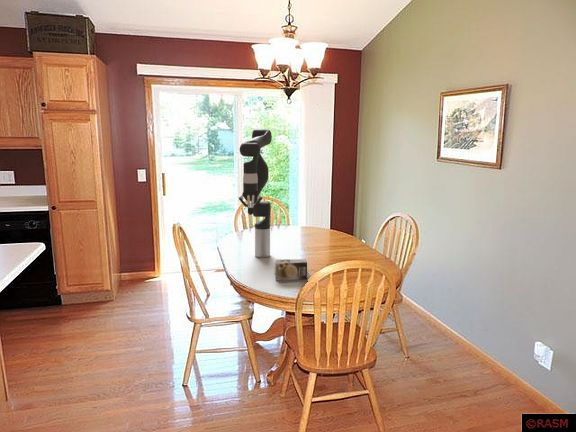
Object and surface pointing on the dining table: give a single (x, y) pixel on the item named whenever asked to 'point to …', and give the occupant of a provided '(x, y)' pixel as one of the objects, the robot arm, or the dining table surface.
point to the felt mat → (295, 280)
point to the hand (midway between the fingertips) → (250, 214)
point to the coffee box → (291, 269)
